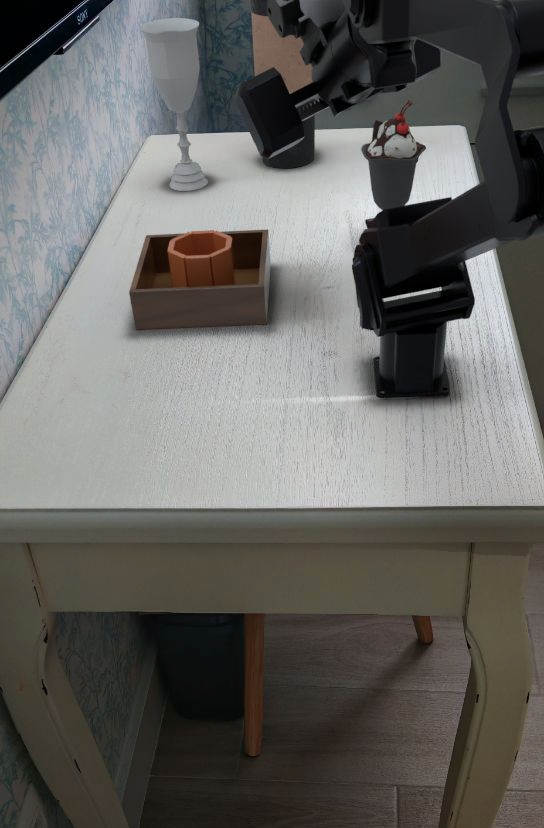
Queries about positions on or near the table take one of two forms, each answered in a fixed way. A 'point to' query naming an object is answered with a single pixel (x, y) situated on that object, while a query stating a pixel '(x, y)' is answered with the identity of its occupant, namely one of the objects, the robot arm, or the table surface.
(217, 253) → the bucket
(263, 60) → the travel mug
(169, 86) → the chalice
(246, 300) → the wooden box
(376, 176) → the sundae
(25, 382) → the table surface
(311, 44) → the robot arm
